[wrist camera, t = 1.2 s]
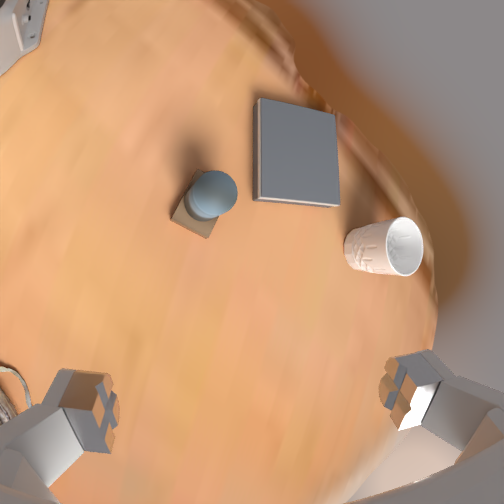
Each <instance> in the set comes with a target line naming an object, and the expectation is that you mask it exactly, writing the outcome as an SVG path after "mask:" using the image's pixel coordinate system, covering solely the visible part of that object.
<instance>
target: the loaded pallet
mask: <svg viewBox="0 0 504 504" xmlns="http://www.w3.org/2000/svg"><path fill="white" fill-rule="evenodd" d="M236 200H237V187H236V184H235V182H234V181H233V179H232V178H231V177H230V176H229V175H227V174H226V173H224V172H221V171H209V172H206V173H204V172H203V171H201V170H199V169H198V170H197V171H196V172H195V174H194V176H193V178H192V180H191V182H190V183H189V185H188V187H187V189H186V191H185V193H184V195H183V197H182V199H181V200H180V202H179V204H178V206H177V208H176V210H175V212H174V214H173V216H172V218H171V221H173V222H175V223H176V224H178V225H180V226H182V227H184V228H186V229H188V230H190V231H192V232H194V233H196V234H198V235H200V236H202V237H204V238H209V236H210V234H211V232H212V229H213V227H214V225H215V223H216V221H217V219H218V217H219V215H221V214H223V213H225V212H227V211H229V210H230V209H231V208H232V207H233V206H234V204H235V202H236Z"/></svg>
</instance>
